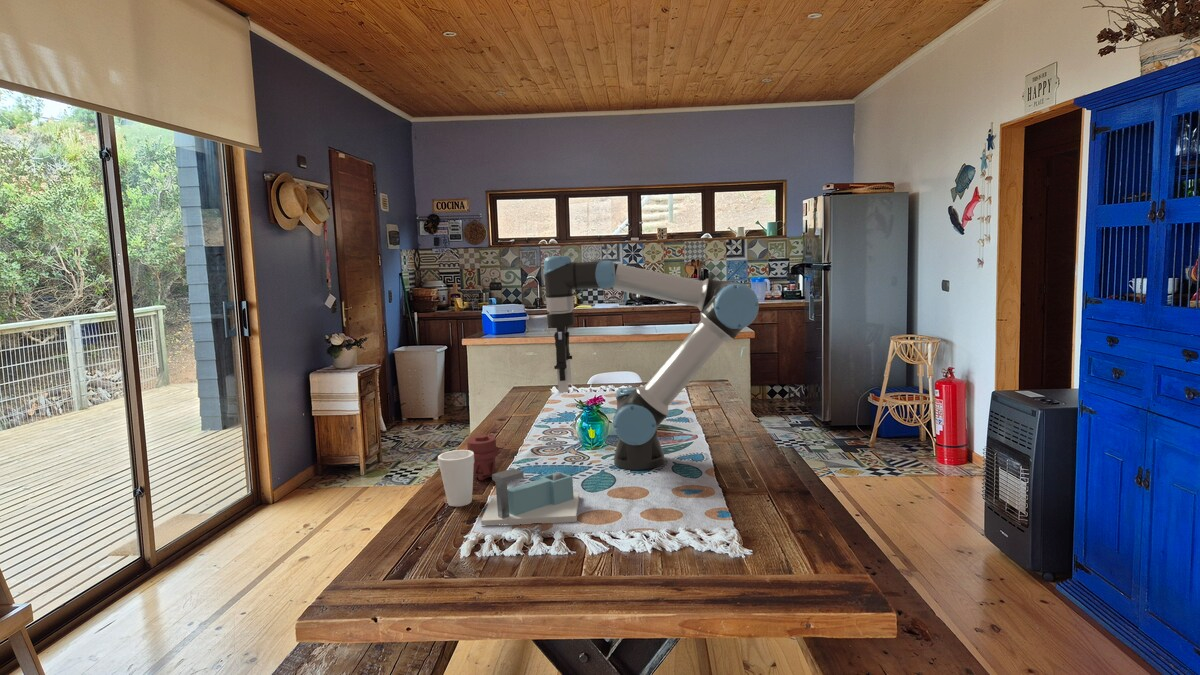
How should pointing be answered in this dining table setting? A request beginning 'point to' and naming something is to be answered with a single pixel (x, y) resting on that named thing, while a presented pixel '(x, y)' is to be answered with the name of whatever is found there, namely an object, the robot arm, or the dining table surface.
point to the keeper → (504, 489)
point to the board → (535, 512)
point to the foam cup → (457, 476)
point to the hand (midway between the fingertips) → (565, 387)
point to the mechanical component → (483, 455)
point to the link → (540, 493)
